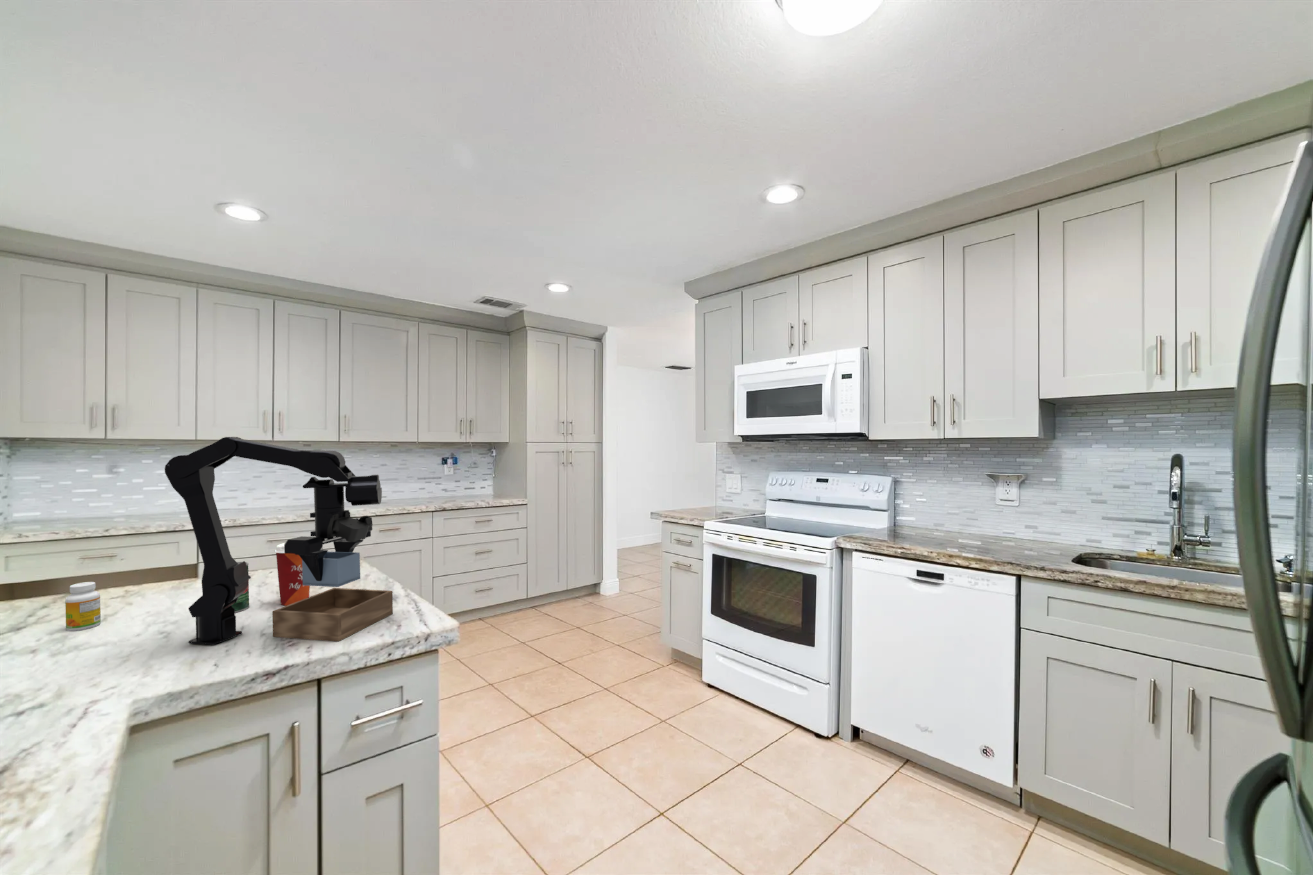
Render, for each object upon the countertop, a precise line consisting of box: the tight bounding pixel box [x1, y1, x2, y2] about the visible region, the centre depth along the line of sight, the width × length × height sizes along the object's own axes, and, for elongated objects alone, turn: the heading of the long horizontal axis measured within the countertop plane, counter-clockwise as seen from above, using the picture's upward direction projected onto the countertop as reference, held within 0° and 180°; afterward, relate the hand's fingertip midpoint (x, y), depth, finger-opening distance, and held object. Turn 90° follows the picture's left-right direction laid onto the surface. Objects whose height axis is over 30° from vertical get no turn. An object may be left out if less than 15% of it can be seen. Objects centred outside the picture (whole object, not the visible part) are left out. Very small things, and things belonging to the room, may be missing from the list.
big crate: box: [271, 587, 394, 642], centre depth 121 cm, size 16×17×6 cm
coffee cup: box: [274, 542, 311, 607], centre depth 138 cm, size 8×8×15 cm
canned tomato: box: [231, 561, 250, 614], centre depth 132 cm, size 8×8×11 cm
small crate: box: [302, 550, 361, 588], centre depth 120 cm, size 9×6×6 cm
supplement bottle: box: [64, 581, 102, 632], centre depth 121 cm, size 5×5×10 cm
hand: (331, 576), depth 120 cm, fingers closed on small crate, 6 cm apart
